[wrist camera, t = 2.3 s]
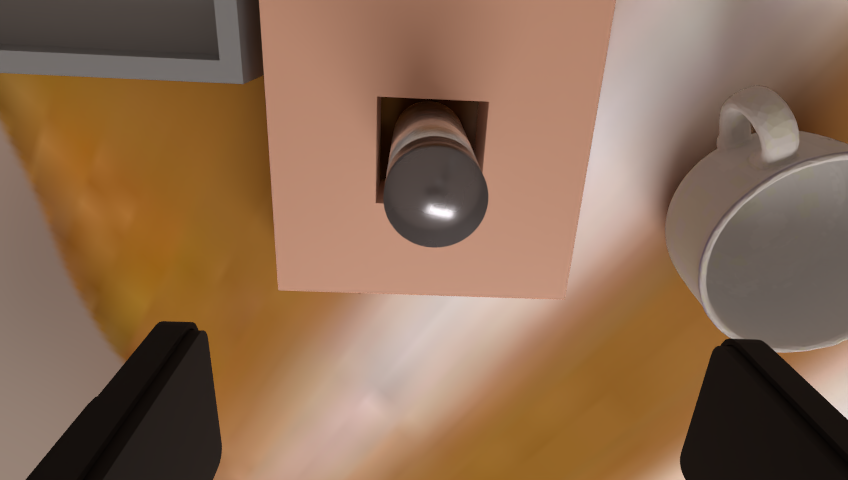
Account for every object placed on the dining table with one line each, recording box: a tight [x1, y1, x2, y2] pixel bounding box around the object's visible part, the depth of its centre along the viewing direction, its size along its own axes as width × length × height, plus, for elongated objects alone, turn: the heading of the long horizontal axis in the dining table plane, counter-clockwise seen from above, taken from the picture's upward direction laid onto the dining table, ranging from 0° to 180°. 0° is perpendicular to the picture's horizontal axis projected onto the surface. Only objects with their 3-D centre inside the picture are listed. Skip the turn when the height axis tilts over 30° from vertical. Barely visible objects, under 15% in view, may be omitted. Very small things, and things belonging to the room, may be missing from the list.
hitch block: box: [259, 0, 616, 300], centre depth 29 cm, size 16×16×4 cm
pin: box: [383, 101, 488, 248], centre depth 25 cm, size 4×4×11 cm
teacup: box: [665, 86, 848, 353], centre depth 28 cm, size 14×11×8 cm
